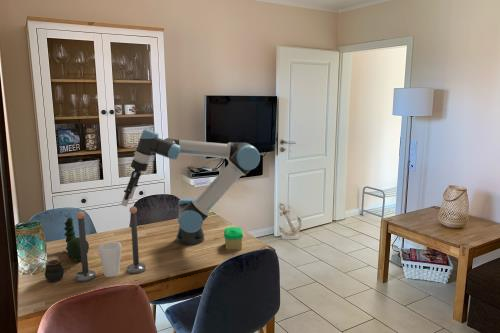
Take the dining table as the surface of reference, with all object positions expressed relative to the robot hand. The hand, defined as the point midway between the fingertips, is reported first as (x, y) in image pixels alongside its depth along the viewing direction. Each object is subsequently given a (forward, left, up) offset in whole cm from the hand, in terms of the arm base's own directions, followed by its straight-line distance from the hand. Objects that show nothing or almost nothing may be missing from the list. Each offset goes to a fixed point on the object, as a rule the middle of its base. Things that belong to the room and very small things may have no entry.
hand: (126, 202), depth 184 cm
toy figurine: (+25, +4, -27) cm, 37 cm away
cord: (-9, +18, -25) cm, 32 cm away
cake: (-51, -10, -27) cm, 59 cm away
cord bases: (+1, +22, -26) cm, 34 cm away
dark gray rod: (+10, +26, -25) cm, 38 cm away
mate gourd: (+23, +28, -27) cm, 45 cm away
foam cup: (+1, +22, -27) cm, 35 cm away
